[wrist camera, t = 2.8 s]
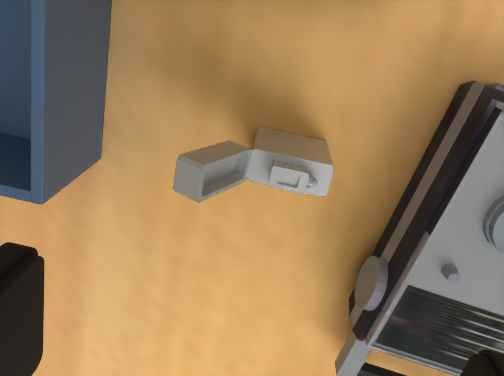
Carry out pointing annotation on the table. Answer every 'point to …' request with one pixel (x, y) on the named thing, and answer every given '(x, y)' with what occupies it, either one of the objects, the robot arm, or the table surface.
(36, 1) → the bin
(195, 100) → the table surface
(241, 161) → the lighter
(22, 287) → the robot arm
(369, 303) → the radio
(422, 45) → the table surface
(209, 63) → the table surface
